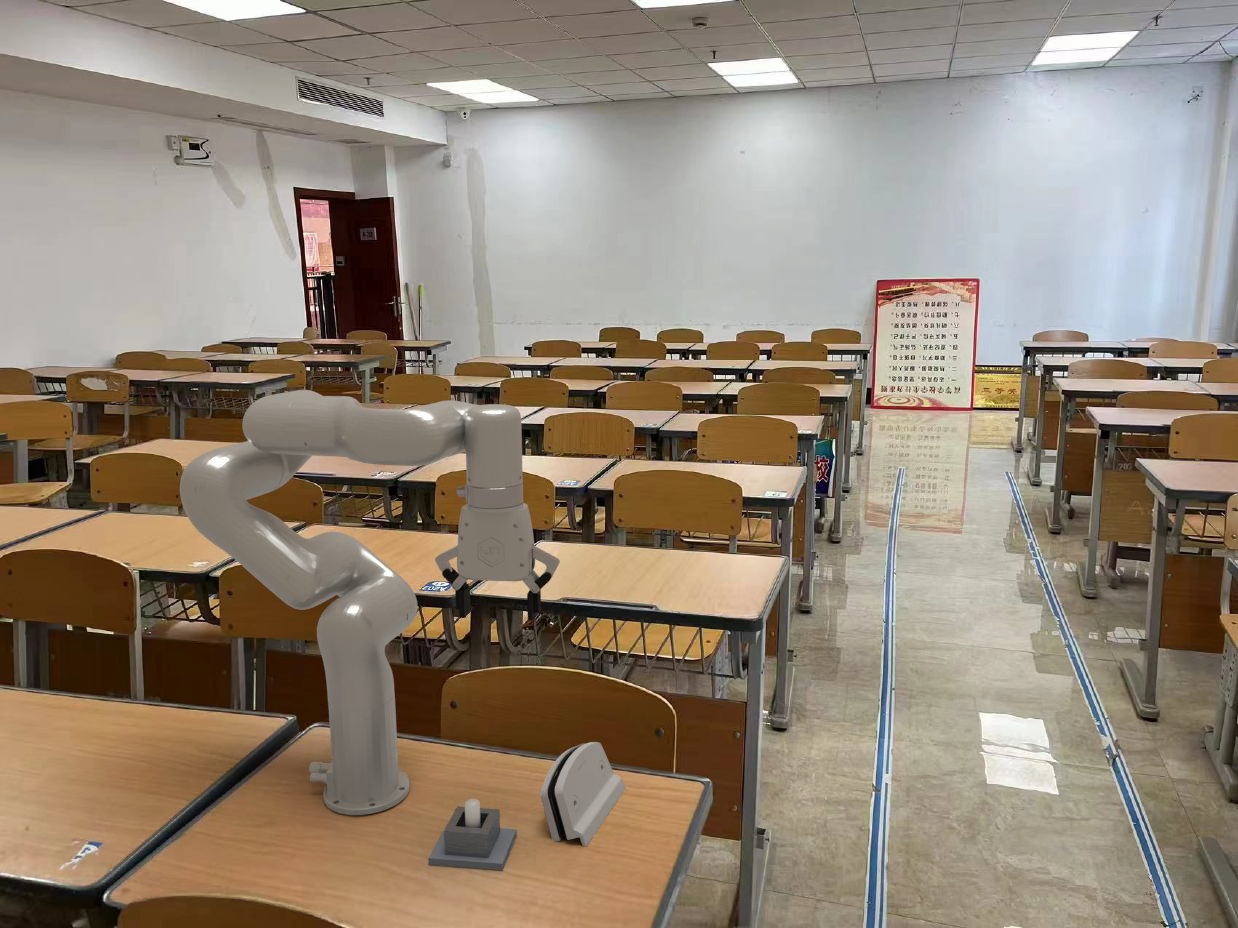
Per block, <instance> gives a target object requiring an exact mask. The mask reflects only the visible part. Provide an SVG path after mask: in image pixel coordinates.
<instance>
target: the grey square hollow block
mask: <svg viewBox="0 0 1238 928" xmlns="http://www.w3.org/2000/svg"><path fill="white" fill-rule="evenodd" d="M500 815H501V811H500V809H499V808H486V807H480V826H481V828H471V827H466V825H465V806H461V805H460V806H458V805H457V807H456V808H455V809H454V812H453V813H452V815H451V817H450V819H449V821H448V822H447V824H446V825H447V826H446V825H445V827H446V828H445V827H444V829H445V830H444V829H443V831H444V847H445V855H456V856H468V857H481V858H489V856H490V854H491V852H492V849H493V847H494V845H495V843H496V841H497V838H498V836H499V834H500V828H501V816H500Z"/></svg>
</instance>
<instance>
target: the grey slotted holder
mask: <svg viewBox="0 0 1238 928" xmlns="http://www.w3.org/2000/svg"><path fill="white" fill-rule="evenodd" d="M606 754H607V753H606V751H605V750H604V747H603V746H602V744H601V742H597V741H589V742H588V743H579V744H577V745H575V746H572V747H571V748H569V749H567V750H565V751H564V752H562V753H561V754H560V755H559V757H557V758H556V760H555V761H554V762H553V764H552V765H551V766H550V769H549V770H548V772H547V774H546V776H545V779H544V780H543V783H542V786H541V788H540V793H539V794H540V800H541V802H542V806H543V810H544V814H545V818H546V821H547V824H548V829H549V832H550V836H551V839H552V841H554V842H560V841H561V840H562V838H563V837H564V838H566V839H567V840H568V841H569V840H573V839H577V838H579V839H580V843H581V844H582V847H587V846H588V845H589V843H590V842H591V841H592V839H593V837H594V836H595V835H596V833H597V832H598V830H599V828H600V827H601V826H602V825H603V823H604V821H605V820H606V819H607V817H608V815H609V814H610V813H611V811H612V810H613V808H614V807H615V805H616V804H617V802H618V801H619V799H620V798H621V797H622V795H623V793H624V792H625V790H626V786H625V782H624V780H623V778H622V777H621V776H619V775H618V774H616V773H614V770H613V767H612V765H611V763H610V761H609V759H608V757H607V755H606Z"/></svg>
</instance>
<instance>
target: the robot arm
mask: <svg viewBox="0 0 1238 928" xmlns="http://www.w3.org/2000/svg"><path fill="white" fill-rule="evenodd" d="M242 418H243V419H242V422H241V423H242V425H241V426H242V431H243V435H244V437H245V438H246V441H243V442H239V443H235V444H231V445H230V444H229V445H226V446H221V447H219V448H214V449H212V450H208V451H206V452H205V453H202V454H200V455H199V456H198V455H197V457H195V458H193V459H192V460H191V461H190V462H189V463H188V464H187V465H186V466H185V468H184V470H183V472H182V474H181V477H180V483H179V495H180V496H179V497H180V501H181V504H182V507H183V510H184V512H185V514H186V516H187V518H188V521H189V522H190V523H191V524H192V525H193V527H194V528H195V529H196V530H197V531H198V532H199V533H200V534H201V535H202V536H204V537H205V538H206V539H207V540H208V541H209V542H211V543H212V544H214V546H217V547H218V548H219V549H220V550H222V551H223V552H225V553H226V554H228V555H229V556H230V557H232V558H233V559H234V560H235V561H236V562H238V564H239V565H241V566H242V567H243V569H245V570H246V571H247V572H248V573H249V574H251V576H253V577H254V578H255V579H256V580H257V581H259V582H260V584H262V585H264V586H265V588H267V589H268V590H269V591H270V592H271V593H272V594H274V595H275V596H276V597H277V598H278V599H280V600H281V601H282V602H283V603H285V604H286V605H287V606H289V607H291V608H292V609H295V610H301V611H304V610H305V611H306V610H309V609H312V608H314V607H316V606H318V605H321V604H323V603H324V602H327V601H328V600H330V599H331V598H334V597H335V596H338V597H337V598H336V599H335V600H333V601H332V602H330V604H329V605H327V607H326V608H325V609H324V610H323V612H322V613H321V615H320V617H319V619H318V622H317V626H316V638H317V644H318V648H319V651H320V654H321V658H322V661H323V662H322V663H323V666H324V672H325V680H326V690H327V691H326V692H327V705H328V718H329V731H330V732H329V734H330V747H331V748H330V749H331V761H330V762H324V761H311V762H310V764H309V768H308V772H309V774H310V775H309V781H310V782H311V783H324V784H325V787H324V788H323V801H324V804H325V806H326V807H327V808H328V809H330V810H332V811H333V812H335V813H338V814H342V815H346V816H347V815H348V816H366V815H372V814H375V813H381V812H382V811H386V810H389V809H391V808H393V807H395V806H396V805H398V804H399V803H401V802H402V801H403V800H404V799H405V798H406V797H407V796H408V794H409V792H410V787H411V785H410V781H411V780H410V778H409V776H408V774H406V773H405V771H402V770H401V769H399V756H398V738H397V737H398V735H397V734H398V733H397V714H396V711H397V710H396V697H395V695H396V693H395V679H394V674H393V670H392V667H391V665H390V663H389V661H388V659H387V656H386V653H385V652H386V651H385V650H386V645H388V644H389V643H390V642H391V641H393V640H394V639H395V638H397V637H398V636H399V635H400V634H402V633H404V632H405V631H407V629H408V628H410V626H411V625H412V624H413V623H414V621H415V619H416V616H417V614H418V600H417V597H416V596H417V595H415V592H414V590H413V588H412V587H411V586H410V585H409V583H408V582H407V581H406V580H405V579H404V578H403V577H402V576H401V575H400V574H399V573H397V572H396V571H395V570H394V569H393V568H392V567H391V566H389V565H388V564H387V563H386V562H384V561H383V560H382V559H381V558H380V557H378V555H376V554H375V553H374V552H373V551H372V550H371V549H369V548H368V547H367V546H366V545H365V544H364V543H362V542H361V541H359V540H358V539H357V538H354V537H353V536H351V535H349V534H347V533H344V532H340V531H327V532H322V533H318V534H317V535H314V536H312V537H310V538H305V537H303V536H302V535H300V534H299V533H297V531H294V530H293V529H292V528H291V527H289V526H288V524H286V523H285V522H284V521H283V520H282V519H281V518H279V517H278V516H276V515H274V514H272V513H271V512H268V511H267V510H264V509H262V508H260V507H256V506H254V505H253V504H251V503H249V502H248V501H247V500H250V499H254V498H256V497H260V496H263V495H266V494H268V493H271V492H274V491H276V490H278V489H280V488H282V486H283V487H284V485H285V484H287V483H288V482H289V481H290V480H291V479H292V478H293V477H294V475H295V474H296V473H297V472H298V471H300V469H301V468H302V467H303V466H304V465H305V464H306V463H307V462H308V461H309V459H310V458H312V457H313V456H314V457H316V456H317V457H318V456H319V457H320V456H321V457H336V458H337V457H339V458H340V457H342V458H347V459H349V460H351V461H356V462H359V463H361V464H369V465H379V466H398V467H399V466H401V467H402V466H403V467H419V466H427V465H431V464H433V463H437V462H438V461H440V460H443V459H445V458H446V459H447V458H450V457H453V456H455V455H459V454H462V453H465V469H466V483H465V485H462V486H457V488H456V494H457V495H456V496H457V497H462V498H465V504H464V505H462V506H461V509H460V515H459V521H458V528H457V529H458V532H457V545H455V546H453V547H452V548H449V549H447V550H446V551H443V552H441V553H440V554H437V556H436V557H435V558H434V560H435V563H436V565H437V566H438V569H439V571H441V575H442V577H443V578H444V579H445V580H446V581H447V582H448V583H449V584H450V585H451V589H453V590H454V592H455V596H454V597H455V609H456V610H457V611H458V614H459V619H463V618H465V617H467V615H469V613H470V611H471V607H472V606H471V586H470V585H469V583H468V582H467V581H468V580H469V581H487V582H489V581H491V582H493V581H494V582H522V583H524V585H525V586H526V587H527V588H528V589H529V591H528V592H527V594H526V603H527V605H526V606H527V620H528V622H531V621H532V622H533V621H534V620H535V619H536V617H537V615H538V614H540V613H541V609H542V598H541V597H542V595H541V593H542V592H541V590H542V589H543V587H545V586H546V585H547V584H548V583H549V582H550V581H551V579H552V578H553V576H554V574H555V572H556V570H557V569H558V567H559V564H560V562H561V561H560V559H559V558H558V557H556V556H555V555H552V554H550V553H548V552H547V551H545V550H543V549H541V548H539V547H537V546H535V538H534V531H533V525H532V519H531V514H530V509H529V505H528V504H527V503H524V486H523V485H524V483H523V482H524V480H523V445H522V444H523V443H522V442H523V438H522V437H523V436H522V430H523V429H522V415H521V412H520V410H519V409H518V408H516V407H515V406H513V405H510V404H499V403H498V404H495V403H493V404H492V403H489V404H474V403H470V402H463V401H460V400H459V401H458V400H451V399H450V400H441V401H437V402H435V403H429V404H425V405H422V406H419V407H415V408H406V409H405V408H371V407H364V406H362V404H361V403H360V401H358V400H357V399H356V398H354V397H352V396H348V395H347V396H345V395H341V396H340V395H322V394H320V393H318V392H316V391H314V390H309V389H298V390H291V391H286V392H282V393H275V394H271V395H265V396H263V397H261V398H258V399H257V400H256V401H253V403H252V404H250V405H249V406H248V408H247V409H246V411H245V413H244V415H243V417H242ZM455 558H456V569H454V567H452V566H451V563H450V561H451V560H453V559H455ZM536 561H538V562H539V563H542V564H544V565H545V567H546V568H545V570H544V572H543V573H542V574H541V575H540V576H539V575H538V573H537V572H536V571H535V567H536Z"/></svg>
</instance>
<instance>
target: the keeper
mask: <svg viewBox="0 0 1238 928" xmlns="http://www.w3.org/2000/svg"><path fill="white" fill-rule="evenodd" d="M464 807H465V825H466V827H471V828H481V826H480V808H481V803H480V800H478V798H477V799H475V798H470V799H467V800H466V801H465V802H464ZM446 826H447V824H446V825H445V827H444V829H443V831H442V833H441V835H440V836H439V838H438V840H437V843H435V845H434V847H433V849H432V851H431V853H430V855H428V856H429V857H428V866H436V867H437V866H438V867H448V868H449V867H450V868H463V869H478V870H490V871H500V872H501V871H503V870H504V869H505V865H506V863H507V860H508V858H509V856H510V852H511V850H512V848H513V846H514V843H515V840H516V838H517V835H518V834H517V829H516V828H508V827H507V828H505V827H500V834H499V836H498V838H497V841H496V843H495V845H494V847H493V849H492V852H491V854H490V856H489V858H481V857H468V856H456V855H445V847H444V830H445V828H446Z"/></svg>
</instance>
